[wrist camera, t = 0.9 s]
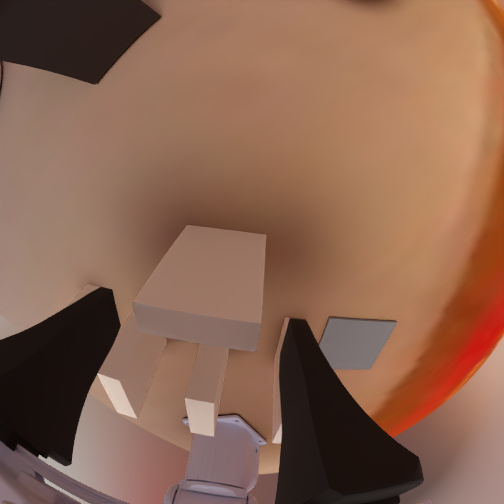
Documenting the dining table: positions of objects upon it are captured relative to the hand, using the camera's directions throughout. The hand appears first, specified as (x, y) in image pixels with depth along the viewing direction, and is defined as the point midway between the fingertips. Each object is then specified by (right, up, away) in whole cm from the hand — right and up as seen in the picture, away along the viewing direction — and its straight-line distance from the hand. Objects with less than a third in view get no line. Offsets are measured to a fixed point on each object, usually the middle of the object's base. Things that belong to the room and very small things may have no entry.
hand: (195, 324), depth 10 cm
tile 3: (0, -4, +11) cm, 11 cm away
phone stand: (-8, +18, 0) cm, 20 cm away
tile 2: (-6, -3, +11) cm, 12 cm away
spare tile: (0, +3, +7) cm, 8 cm away
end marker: (+11, -5, +10) cm, 16 cm away
